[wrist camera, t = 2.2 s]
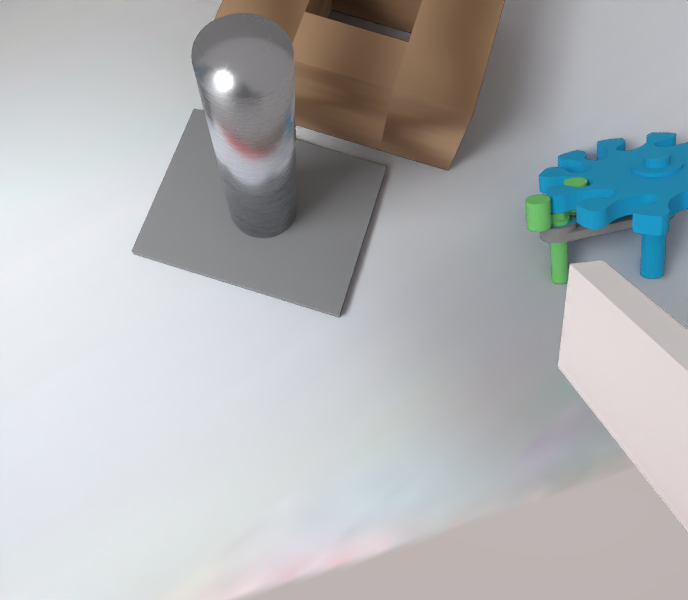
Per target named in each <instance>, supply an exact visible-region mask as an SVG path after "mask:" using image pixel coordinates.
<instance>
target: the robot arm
mask: <svg viewBox="0 0 688 600" xmlns="http://www.w3.org/2000/svg"><path fill="white" fill-rule="evenodd" d="M558 368H559V369H560V370H561V372H562V373H563V374H564V376H565V377H566V378H567V379H568V381H569V382H570V383H571V384H572V386H573V387H574V388H575V390H576V391H577V392H578V393H579V395H580V396H581V397H582V398H583V400H584V401H585V402H586V404H587V405H588V406H589V407H590V409H591V410H592V411H593V412H594V414H595V415H596V416H597V418H598V419H599V420H600V421H601V423H602V424H603V425H604V426H605V428H606V429H607V430H608V432H609V433H610V434H611V435H612V437H613V438H614V439H615V440H616V442H617V443H618V444H619V445H620V447H621V448H622V449H623V451H624V452H625V453H626V454H627V456H628V457H629V458H630V459H631V461H632V462H633V463H634V465H635V466H636V467H637V468H638V470H639V471H640V472H641V473H642V474H643V476H644V477H645V479H646V480H647V481H648V482H649V484H650V485H651V486H652V487H653V489H654V490H655V491H656V493H657V494H658V495H659V496H660V498H661V499H662V500H663V501H664V503H665V504H666V505H667V507H668V508H669V509H670V510H671V512H672V513H673V514H674V515H675V517H676V518H677V519H678V521H679V522H680V523H681V524H682V526H683V527H684V528H685V529H686V531H687V532H688V330H687V329H686V328H684V327H683V326H682V325H681V324H680V323H678V322H677V321H676V320H675V319H674V318H672V317H671V316H670V315H669V314H667V313H666V312H665V311H664V310H663V309H661V308H660V307H659V306H658V305H656V304H655V303H654V302H653V301H652V300H650V299H649V298H648V297H647V296H646V295H644V294H643V293H642V292H641V291H639V290H638V289H637V288H636V287H635V286H633V285H632V284H631V283H630V282H629V281H627V280H626V279H625V278H624V277H622V276H621V275H620V274H619V273H618V272H616V271H615V270H614V269H613V268H611V267H610V266H609V265H608V264H607V263H605V262H604V261H603V260H599V261H591V262H582V263H573V264H570V267H569V276H568V284H567V293H566V301H565V310H564V318H563V327H562V335H561V344H560V352H559V361H558Z"/></svg>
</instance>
